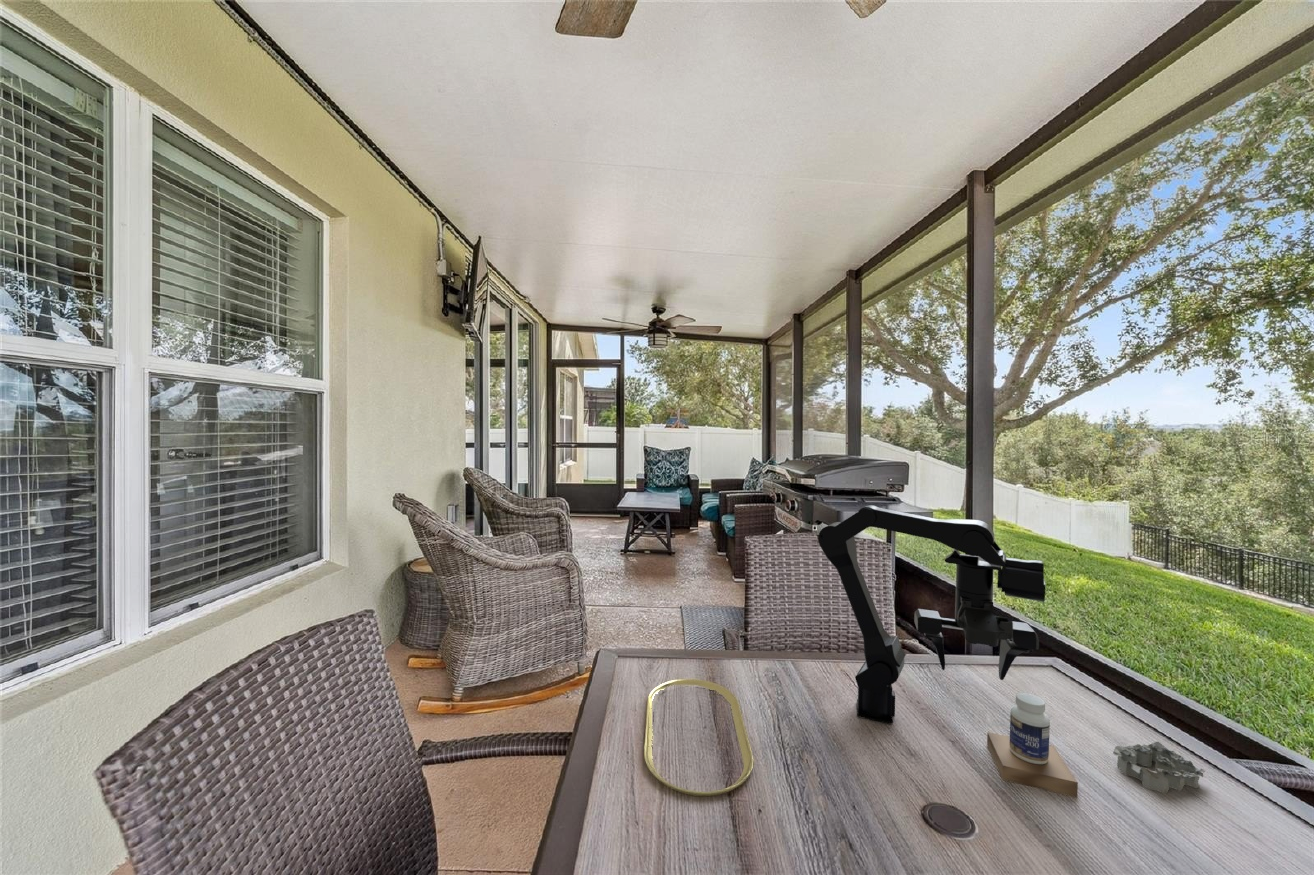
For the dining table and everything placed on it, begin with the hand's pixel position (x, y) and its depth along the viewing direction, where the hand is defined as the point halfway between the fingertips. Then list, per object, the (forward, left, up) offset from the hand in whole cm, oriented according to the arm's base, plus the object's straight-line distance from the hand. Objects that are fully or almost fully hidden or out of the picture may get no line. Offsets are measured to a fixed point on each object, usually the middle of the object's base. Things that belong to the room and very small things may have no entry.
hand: (971, 674), depth 91 cm
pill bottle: (+8, -4, -11) cm, 14 cm away
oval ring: (-48, -16, -14) cm, 52 cm away
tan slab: (+8, -4, -13) cm, 16 cm away
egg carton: (+28, +3, -14) cm, 31 cm away
